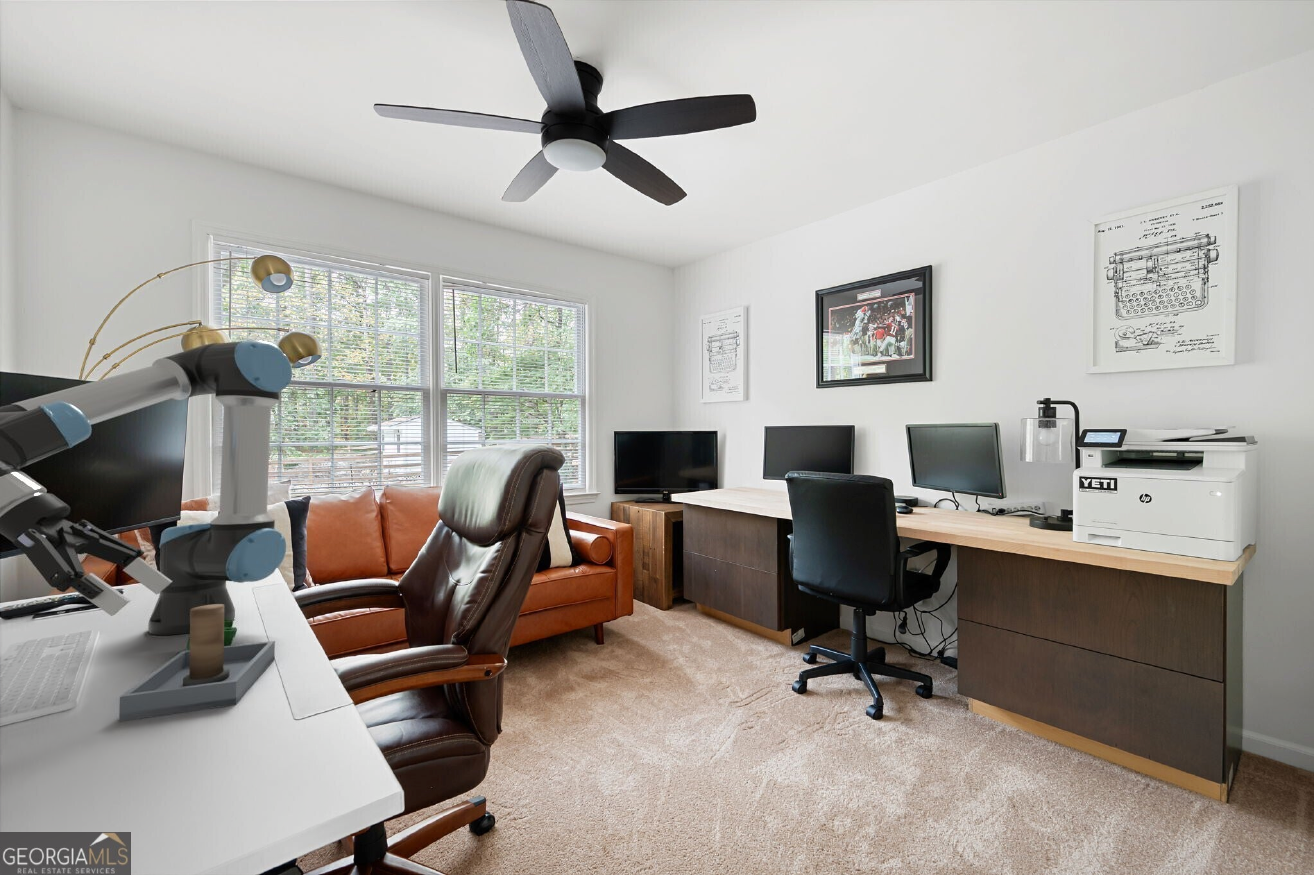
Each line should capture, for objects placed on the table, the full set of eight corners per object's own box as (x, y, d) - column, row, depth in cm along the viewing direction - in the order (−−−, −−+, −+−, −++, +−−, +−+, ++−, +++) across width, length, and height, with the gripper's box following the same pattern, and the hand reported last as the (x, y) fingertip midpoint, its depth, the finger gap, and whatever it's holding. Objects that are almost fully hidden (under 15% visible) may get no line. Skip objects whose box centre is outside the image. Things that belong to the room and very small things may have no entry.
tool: (192, 676, 93) (193, 605, 93) (234, 670, 95) (235, 601, 95) (175, 690, 87) (176, 614, 87) (221, 684, 89) (222, 610, 90)
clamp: (221, 676, 106) (237, 636, 105) (182, 677, 102) (198, 636, 101) (223, 638, 115) (238, 600, 114) (187, 637, 111) (202, 599, 110)
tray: (181, 670, 98) (182, 651, 98) (274, 659, 103) (274, 640, 103) (119, 721, 79) (119, 696, 79) (235, 704, 84) (236, 681, 84)
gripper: (52, 518, 94) (161, 597, 99) (-77, 539, 71) (73, 640, 76) (93, 486, 96) (197, 565, 101) (-19, 496, 73) (123, 597, 78)
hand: (144, 597), depth 88 cm, fingers open, 13 cm apart
